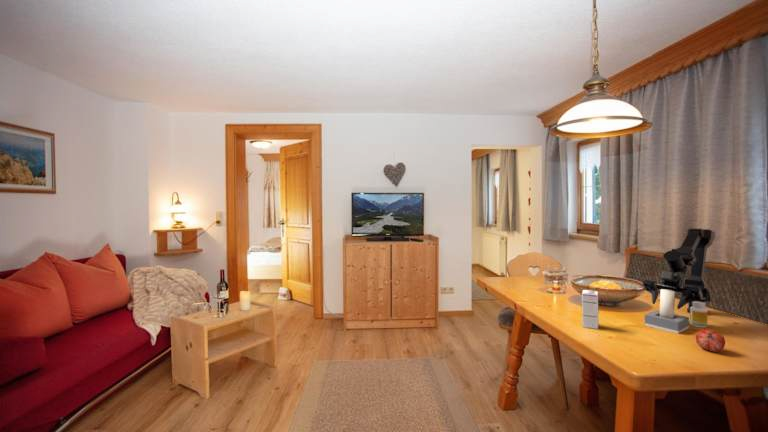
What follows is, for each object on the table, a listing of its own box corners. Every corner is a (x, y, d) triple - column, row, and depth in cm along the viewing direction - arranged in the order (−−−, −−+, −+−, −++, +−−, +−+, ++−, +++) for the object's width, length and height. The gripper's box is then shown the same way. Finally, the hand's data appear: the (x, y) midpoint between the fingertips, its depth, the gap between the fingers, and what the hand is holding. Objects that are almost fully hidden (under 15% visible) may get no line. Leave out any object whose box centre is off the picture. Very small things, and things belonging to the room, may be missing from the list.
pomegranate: (695, 350, 122) (688, 338, 117) (703, 332, 123) (696, 320, 118) (723, 360, 115) (717, 348, 111) (731, 342, 117) (725, 329, 112)
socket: (655, 320, 147) (656, 310, 146) (688, 328, 137) (688, 317, 137) (644, 325, 141) (644, 314, 141) (678, 333, 131) (678, 322, 131)
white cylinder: (657, 321, 142) (658, 288, 142) (670, 323, 140) (671, 289, 140) (662, 325, 138) (663, 291, 137) (676, 326, 136) (677, 292, 136)
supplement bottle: (710, 328, 137) (711, 304, 137) (695, 327, 138) (695, 304, 138) (701, 323, 142) (701, 300, 142) (686, 322, 143) (686, 300, 143)
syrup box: (598, 329, 137) (598, 294, 136) (581, 326, 140) (582, 292, 139) (598, 325, 141) (598, 291, 141) (582, 322, 145) (582, 289, 144)
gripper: (644, 261, 148) (632, 289, 143) (700, 267, 132) (689, 299, 127) (652, 276, 153) (640, 304, 147) (707, 284, 137) (697, 316, 131)
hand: (665, 305), depth 138 cm, fingers open, 8 cm apart
